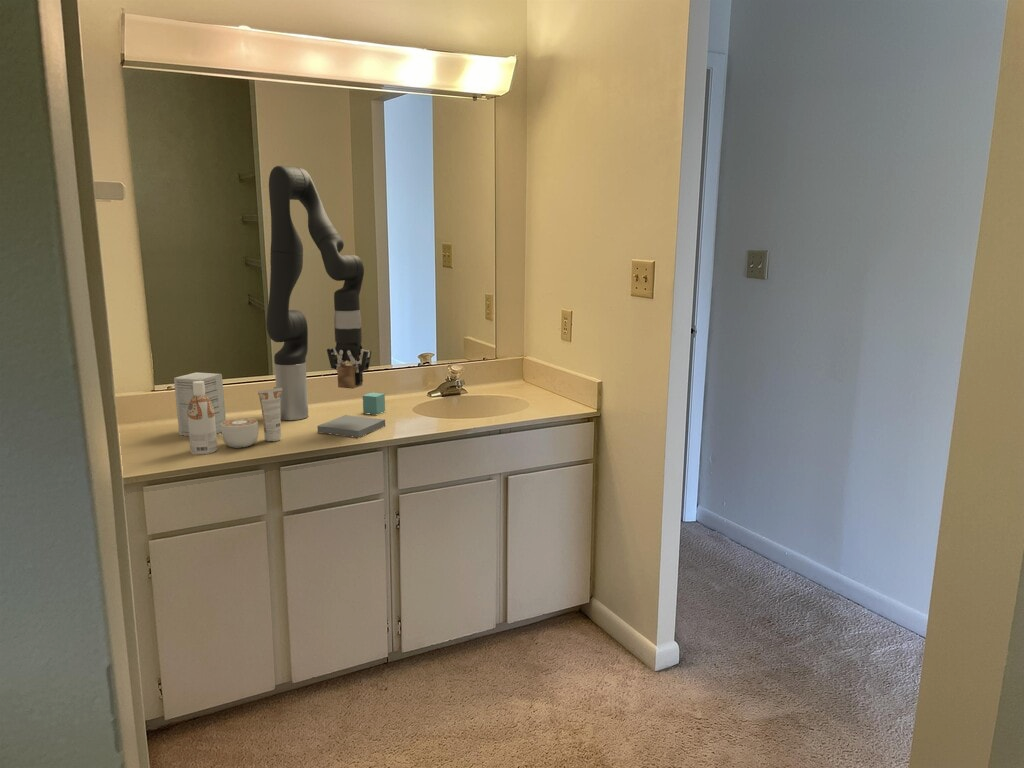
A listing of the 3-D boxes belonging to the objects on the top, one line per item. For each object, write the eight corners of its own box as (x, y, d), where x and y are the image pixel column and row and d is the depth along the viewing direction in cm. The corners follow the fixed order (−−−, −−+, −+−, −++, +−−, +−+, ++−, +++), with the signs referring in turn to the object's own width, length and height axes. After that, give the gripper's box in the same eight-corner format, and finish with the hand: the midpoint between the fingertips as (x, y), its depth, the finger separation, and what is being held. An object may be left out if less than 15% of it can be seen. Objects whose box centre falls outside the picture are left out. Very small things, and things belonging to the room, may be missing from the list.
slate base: (317, 432, 214) (317, 425, 213) (345, 421, 227) (345, 415, 226) (359, 437, 209) (358, 430, 208) (385, 425, 221) (385, 419, 221)
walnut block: (338, 387, 214) (337, 366, 212) (348, 384, 218) (347, 364, 217) (352, 388, 212) (351, 368, 211) (362, 385, 216) (361, 365, 215)
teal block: (363, 413, 236) (362, 395, 235) (371, 410, 241) (371, 392, 240) (376, 415, 235) (376, 396, 233) (385, 411, 239) (384, 393, 238)
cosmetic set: (279, 434, 212) (275, 370, 208) (291, 442, 205) (287, 375, 201) (186, 449, 197) (180, 380, 193) (195, 458, 190) (189, 386, 186)
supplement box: (227, 430, 216) (223, 373, 212) (205, 438, 207) (200, 379, 204) (201, 427, 219) (196, 371, 215) (177, 435, 210) (172, 377, 207)
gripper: (318, 326, 211) (322, 384, 214) (362, 328, 206) (364, 388, 209) (334, 323, 218) (337, 380, 221) (376, 325, 212) (378, 383, 216)
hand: (350, 384), depth 215 cm, fingers closed on walnut block, 5 cm apart
